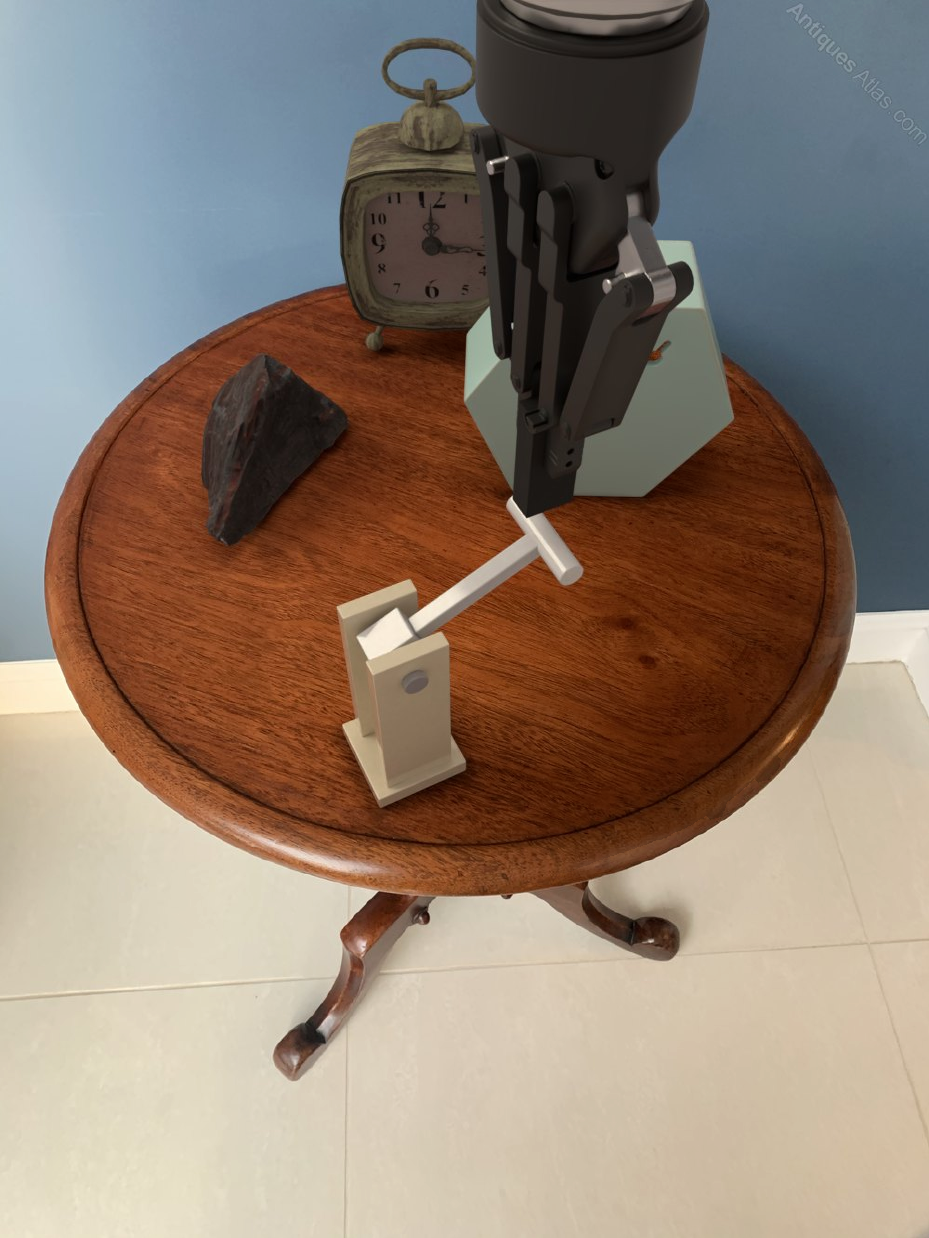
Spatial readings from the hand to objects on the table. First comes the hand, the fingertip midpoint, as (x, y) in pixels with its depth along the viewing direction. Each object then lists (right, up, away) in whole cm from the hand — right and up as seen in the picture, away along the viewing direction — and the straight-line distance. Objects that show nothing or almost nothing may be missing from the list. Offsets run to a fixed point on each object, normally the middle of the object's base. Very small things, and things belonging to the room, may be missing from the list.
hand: (542, 500), depth 50 cm
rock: (-18, +5, +28) cm, 33 cm away
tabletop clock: (-7, +20, +39) cm, 44 cm away
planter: (+6, +6, +29) cm, 30 cm away
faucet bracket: (-8, -15, +13) cm, 21 cm away
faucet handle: (-4, -5, +4) cm, 8 cm away
